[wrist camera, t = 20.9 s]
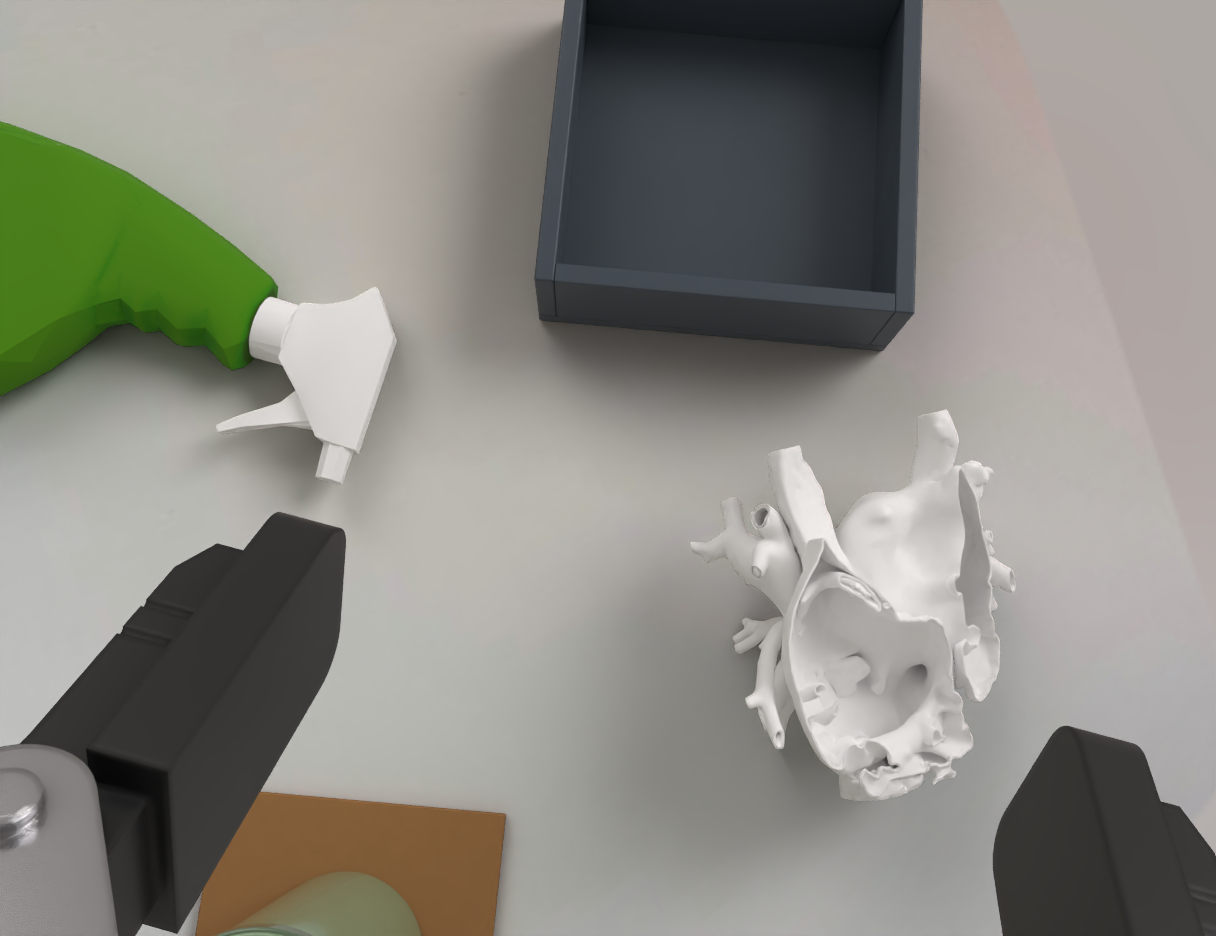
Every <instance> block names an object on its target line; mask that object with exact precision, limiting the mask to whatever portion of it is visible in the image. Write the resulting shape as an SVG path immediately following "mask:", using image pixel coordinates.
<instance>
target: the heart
mask: <svg viewBox="0 0 1216 936" xmlns="http://www.w3.org/2000/svg"><path fill="white" fill-rule="evenodd" d="M917 432H918V437H917V450H916V453H915V456H914V460H913V466H912V472H911V476H910V484H909V485H908V486H907V487H905V488H903V489H901V490H898V491H896V492H871V493H868V494H866V495H864V496H862V497H860V498H859V499H858V500H857V501H856V502H855V503H854V504H853V506H852V507H851V508H850V510H849V511H848V513H847V514H846V515H845V517H844V518H843V520H842V521H841V523H840V524H839V525H838V527H837V528H836V530H835V531H834V528H833V524H832V520H831V517H830V515H829V513H828V511H827V508H826V506H825V499H824V495H823V491H822V488H821V486H820V485H819V483H818V482H817V481H816V479H815V476H814V474H813V472H812V470H811V468H810V467H809V465H808V464H807V463H806V462H805V461H804V460H803V459H802V452H801V449H800V446H794V447H790V448H786V449H781V450H778V451H774V452H770V453H769V454H768V467H769V479H770V484H771V487H772V489H773V492H774V495H775V498H776V501H777V505H778V508H779V511H780V514H781V516H780V515H779V513H778V512H777V511H776V510H775V509H773V508H772V507H771V506H769V505H768V504H760V505H758V506H757V507H756V508H754V509H755V511H752V512H751V514H750V515H751V521H752V525H753V527H754V528H756V529H757V530H758V532H759V533H760V534H761V536H762V539H761V538H759V537H757V536H754V535H752V534H750V533H749V532H748V531H747V528H746V526H745V523H744V518H743V509H742V504H741V501H740V499H739V498H738V497H730V498H727V499H726V500H724V501H722V502H721V509H722V512H723V516H724V522H725V530H724V531H723V532H722V533H721V534H719V535H718V536H717V537H715V538H714V539H712V540H710V541H708V542H704V543H702V542H690V546H691V548H692V551H693V553H695V554H697V555H699V556H701V557H702V558H703V560H704V561H705V562H706V563H711V562H713V561H715V560H716V559H718V558H720V557H725V558H727V559H728V560H729V561H730V563H731V565H732V567H733V569H734V570H735V572H736V573H737V574H738V575H741V576H742V578H743V579H744V581H745V583H746V585H750V584H751V585H753V586H755V587H757V588H758V589H760V590H761V591H762V592H763V593H764V594H766V595H767V596H768V597H769V598H770V600H771V601H772V602H773V603H774V604H775V605H776V606H777V608H778V609H779V611H780V612H781V614H782V615H783V617H776V618H771V619H768V620H766V621H756V620H752V619H748V618H744V619H743V620H742V624H743V626H744V629H743V630H742V631H740V632H739V633H737V634H736V635H735V636H733V641H734V643H735V645H734V648H735V650H736V652H737V654H740V653H743V652H745V651H747V650H749V649H751V648H753V647H754V646H756V645H757V644H759V643H760V642H761V641H763V642H762V643H761V644H760V645H759V649H761V653H760V657H759V661H758V664H757V678H756V687H755V691H754V692H753V694H751V695H750V696H748V697H746V698H745V700H746V705H747V706H748V708H749V709H752V708H755V707H756V708H757V709H758V714H759V716H760V719H761V721H762V725H763V728H764V730H765V731H766V732H767V731H768V734H769V737H770V739H771V741H772V743H773V745H774V747H775V748H776V749H782V748H784V741H785V737H784V734H785V732H786V729H787V724H788V720H789V717H790V716H791V714H792V713H793V711H794V710H795V711H796V714H797V716H798V719H799V721H800V723H801V726H802V728H803V730H804V733H805V735H806V737H807V739H808V741H809V743H810V745H811V747H812V749H813V750H814V752H815V753H816V755H817V756H818V758H819V759H820V760H821V762H822V763H823V764H825V765H826V766H827V767H828V768H830V769H831V770H832V771H833V772H835V773H837V774H838V775H839V789H840V796H841V797H842V798H843V799H847V800H856V801H880V800H884V799H887V798H890V797H897V796H901V795H904V794H906V793H907V792H910V791H913V790H915V789H917V788H918V787H920V785H921V783H923V782H924V777H923V773H925V772H928V771H929V770H931V771H932V772H933V773H934V779H933V785H935V784H936V782H938V781H940V780H944V779H951V778H954V777H955V776H956V771H953V770H952V769H951V763H952V760H953V759H954V758H959V759H960V758H961V757H962V756H964V755H965V753H966V752H968V751H970V750H971V749H972V748H973V736H972V734H971V733H970V729H969V727H968V725H967V724H966V723H965V722H964V715H963V714H962V708H963V700H962V698H961V696H960V695H959V694H958V693H957V692H956V691H954V687H955V688H956V689H960V688H964V689H965V693H966V696H967V698H968V699H970V700H971V701H973V702H981V701H982V700H983V699H985V698H986V696H987V695H988V693H989V691H990V689H991V687H992V684H993V682H996V681H997V674H998V671H999V663H1000V640H999V637H998V636H997V635H996V634H995V624H994V619H993V617H992V615H991V612H992V611H994V610H995V609H997V606H998V605H997V603H996V601H995V599H994V597H993V596H992V587H1000V588H1001V589H1003V590H1005V591H1008V592H1011V593H1013V592H1014V590H1015V586H1016V585H1015V574H1014V571H1013V570H1012V569H1011V568H1009V567H1007V566H1005V565H1004V564H1002V563H1000V562H999V561H997V560H996V559H994V558H993V557H992V555H993V554H994V549H993V548H992V546H991V545H990V543H991V542H993V539H994V537H993V534H992V531H991V530H987V531H984V532H983V526H982V522H981V518H980V511H979V506H978V503H979V502H980V500H981V498H982V494H983V484H986V483H988V481H989V478H990V477H991V476H992V475H993V470H992V469H991V468H989V467H982V465H981V464H980V463H979V462H977V461H968V462H966V463H964V464H961V465H960V466H953V464H954V460H955V457H956V453H957V449H958V444H959V438H958V434H957V431H956V429H955V426H954V424H953V422H952V419H951V416H950V414H949V412H948V411H947V410H942V411H937V412H933V413H929V414H924V415H920V416H918V424H917ZM781 517H782V518H781ZM787 529H788V530H787ZM788 531H789V532H788ZM789 534H790V535H789ZM795 547H797V550H798V552H799V555H800V556H799V555H798V553H797V550H796V548H795ZM781 646H782V649H781V660H780V661H779V663H778V664H777V666H776V662H777V656H778V653H779V650H780V648H781ZM953 659H954V661H955V682H954V680H953V675H952V662H953Z"/></svg>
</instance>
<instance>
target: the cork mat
mask: <svg viewBox="0 0 1216 936" xmlns="http://www.w3.org/2000/svg"><path fill="white" fill-rule="evenodd" d="M505 818H506V814H502V813H491V812H480V811H468V810H457V809H446V808H435V807H424V806H413V805H402V804H391V803H380V802H369V801H358V800H347V799H336V798H325V797H314V796H303V795H292V794H281V793H270V792H260V793H259V794H258V796H257V798H256V799H255V801H254V803H253V805H252V806H251V808H250V810H249V811H248V813H247V815H246V817H245V818H244V820H243V822H242V823H241V825H240V827H239V829H238V830H237V832H236V834H235V835H234V837H233V839H232V841H231V842H230V844H229V846H228V847H227V849H226V851H225V853H224V854H223V856H222V858H221V859H220V861H219V863H218V865H217V866H216V868H215V870H214V871H213V873H212V875H211V877H210V878H209V880H208V882H207V883H206V885H205V887H204V889H203V891H202V898H201V904H200V910H199V916H198V922H197V929H196V935H195V936H213V935H215V934H218V933H220V932H223V931H225V930H228V929H231V928H232V927H234V926H235V925H237V924H239V923H240V922H242V921H243V920H245V919H246V918H248V917H250V916H251V915H253V914H254V913H256V912H258V911H259V910H261V909H262V908H264V907H265V906H267V905H269V904H270V903H272V902H273V901H275V900H277V899H278V898H280V897H281V896H283V895H285V894H286V893H288V892H289V891H291V890H292V889H294V888H296V887H297V886H299V885H300V884H302V883H304V882H306V881H308V880H309V879H312V878H314V877H317V876H319V875H323V874H327V873H331V872H340V871H348V872H358V873H363V874H366V875H370V876H373V877H375V878H377V879H379V880H381V881H383V882H384V883H386V884H388V885H389V886H391V887H392V888H393V889H394V890H395V891H396V892H398V893H399V894H400V895H401V897H402V898H403V899H404V900H405V901H406V902H407V904H408V906H409V907H410V909H411V910H412V912H413V914H414V916H415V918H416V920H417V922H418V926H419V929H420V932H421V936H493V934H494V924H495V914H496V905H497V895H498V886H499V876H500V866H501V857H502V847H503V838H504V828H505Z"/></svg>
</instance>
